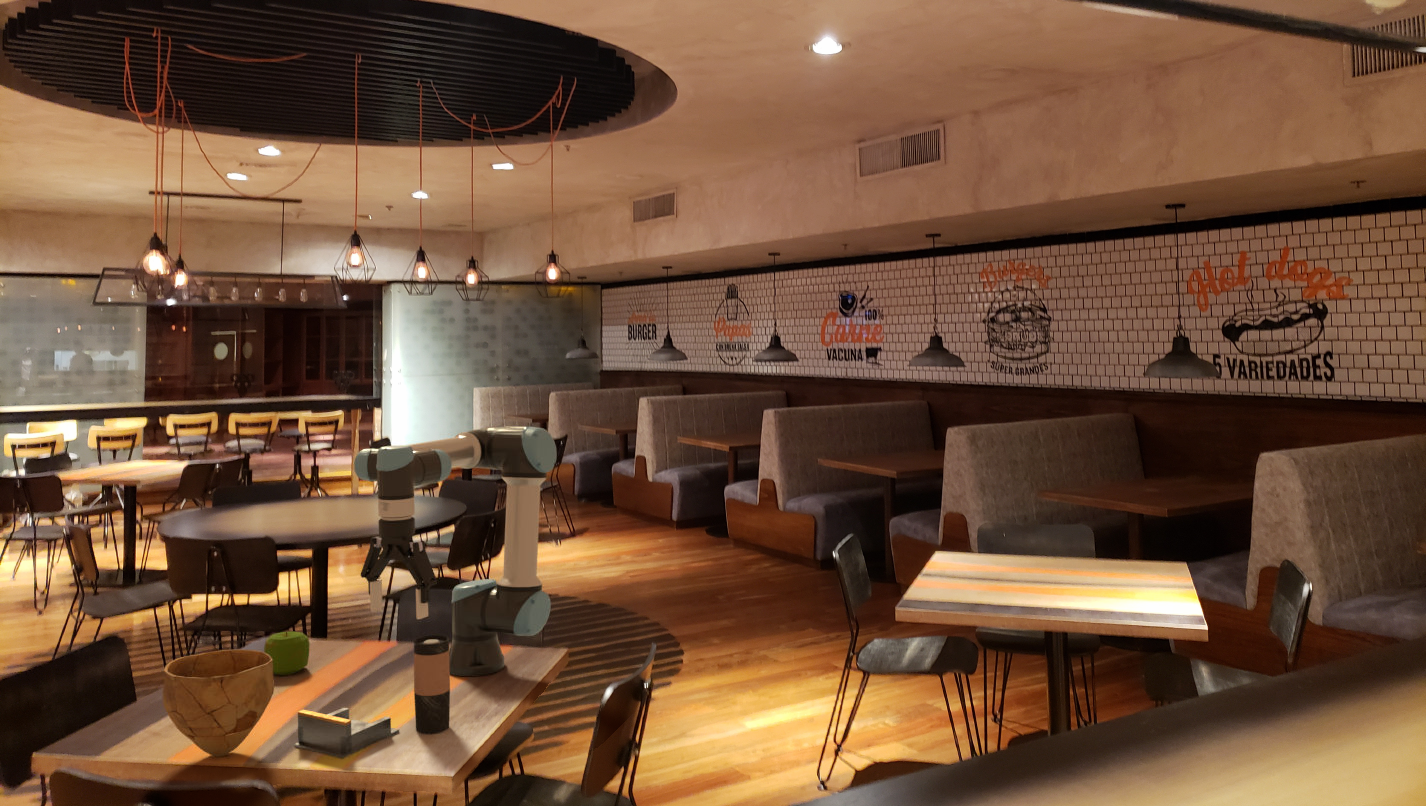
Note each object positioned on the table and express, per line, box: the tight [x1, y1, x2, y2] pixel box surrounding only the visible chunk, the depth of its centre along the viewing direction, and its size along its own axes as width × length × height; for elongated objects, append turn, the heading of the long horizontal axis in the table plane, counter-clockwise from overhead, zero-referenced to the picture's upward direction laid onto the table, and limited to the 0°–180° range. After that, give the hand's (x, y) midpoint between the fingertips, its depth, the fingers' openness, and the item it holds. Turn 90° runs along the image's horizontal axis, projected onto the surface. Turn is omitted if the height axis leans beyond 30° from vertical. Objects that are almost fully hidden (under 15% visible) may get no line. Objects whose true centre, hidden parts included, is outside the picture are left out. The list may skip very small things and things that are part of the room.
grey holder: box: [294, 707, 400, 760], centre depth 211 cm, size 16×14×7 cm
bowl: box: [162, 648, 275, 758], centre depth 202 cm, size 21×20×20 cm
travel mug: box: [413, 634, 451, 735], centre depth 217 cm, size 8×8×20 cm
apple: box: [263, 630, 311, 676], centre depth 258 cm, size 11×11×11 cm
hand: (399, 614), depth 213 cm, fingers open, 13 cm apart
